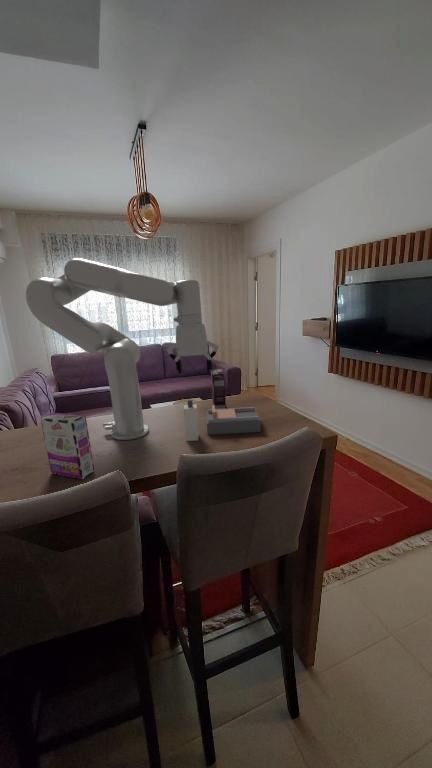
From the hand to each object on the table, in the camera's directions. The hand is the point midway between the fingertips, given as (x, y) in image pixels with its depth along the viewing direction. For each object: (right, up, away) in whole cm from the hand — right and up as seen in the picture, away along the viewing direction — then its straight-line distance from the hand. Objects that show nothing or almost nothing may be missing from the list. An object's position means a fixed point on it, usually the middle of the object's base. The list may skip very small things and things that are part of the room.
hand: (194, 371), depth 107 cm
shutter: (+10, -15, +5) cm, 19 cm away
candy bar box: (-32, -29, -20) cm, 47 cm away
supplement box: (+8, -15, +25) cm, 30 cm away
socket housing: (+13, -19, +6) cm, 24 cm away
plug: (-1, -22, -2) cm, 22 cm away
